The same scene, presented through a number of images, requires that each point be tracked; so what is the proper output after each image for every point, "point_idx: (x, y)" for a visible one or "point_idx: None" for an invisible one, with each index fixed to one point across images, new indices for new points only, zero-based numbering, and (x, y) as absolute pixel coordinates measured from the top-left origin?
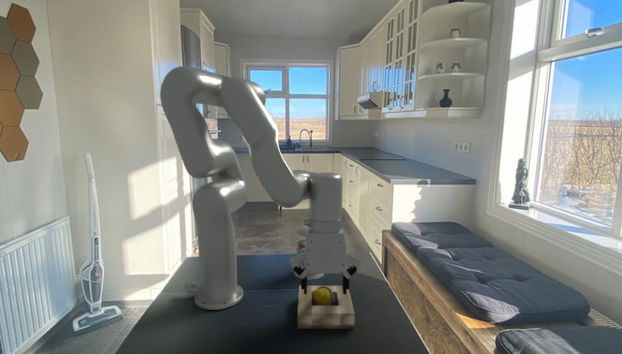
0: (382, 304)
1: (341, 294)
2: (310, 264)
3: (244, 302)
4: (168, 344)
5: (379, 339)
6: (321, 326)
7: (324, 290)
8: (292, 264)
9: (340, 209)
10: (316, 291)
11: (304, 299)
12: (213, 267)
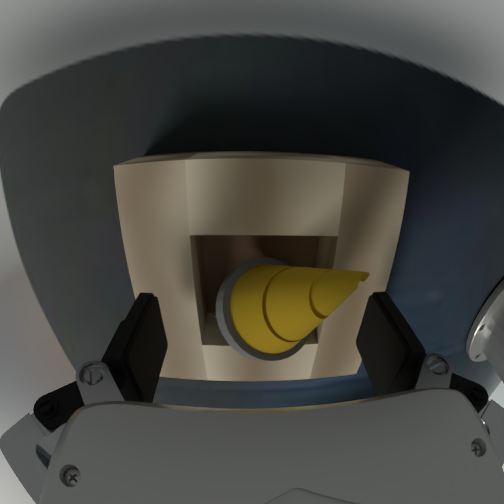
0: (65, 302)
1: (179, 326)
2: (464, 452)
3: (475, 303)
4: None
5: (70, 106)
6: (282, 152)
7: (267, 326)
8: (501, 414)
9: None
10: (330, 291)
11: (361, 287)
12: None
